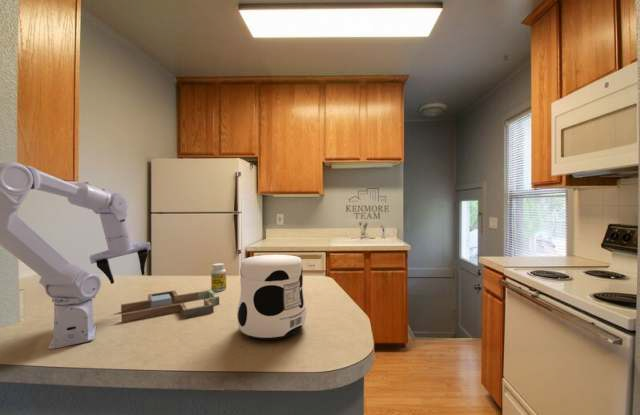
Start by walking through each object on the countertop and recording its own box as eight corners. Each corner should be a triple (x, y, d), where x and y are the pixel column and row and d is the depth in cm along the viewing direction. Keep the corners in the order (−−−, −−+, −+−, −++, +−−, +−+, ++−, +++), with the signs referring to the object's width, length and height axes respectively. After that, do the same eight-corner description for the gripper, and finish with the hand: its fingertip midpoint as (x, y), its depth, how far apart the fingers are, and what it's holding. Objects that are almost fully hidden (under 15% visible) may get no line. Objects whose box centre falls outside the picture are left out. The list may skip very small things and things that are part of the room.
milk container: (248, 316, 84) (247, 253, 83) (308, 317, 83) (308, 254, 83) (226, 346, 66) (226, 266, 66) (303, 347, 66) (302, 267, 66)
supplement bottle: (227, 287, 113) (226, 262, 113) (225, 291, 108) (225, 265, 108) (212, 288, 112) (212, 263, 112) (210, 292, 107) (210, 265, 107)
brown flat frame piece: (225, 310, 89) (225, 302, 89) (121, 331, 74) (121, 322, 74) (206, 291, 108) (206, 285, 108) (120, 305, 93) (120, 298, 93)
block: (171, 311, 88) (171, 297, 88) (152, 314, 86) (152, 301, 86) (169, 306, 93) (169, 293, 93) (150, 309, 90) (150, 296, 90)
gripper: (145, 225, 90) (153, 265, 94) (86, 237, 82) (98, 280, 86) (147, 231, 85) (157, 274, 88) (84, 244, 77) (97, 290, 80)
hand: (128, 278), depth 87 cm, fingers open, 7 cm apart
